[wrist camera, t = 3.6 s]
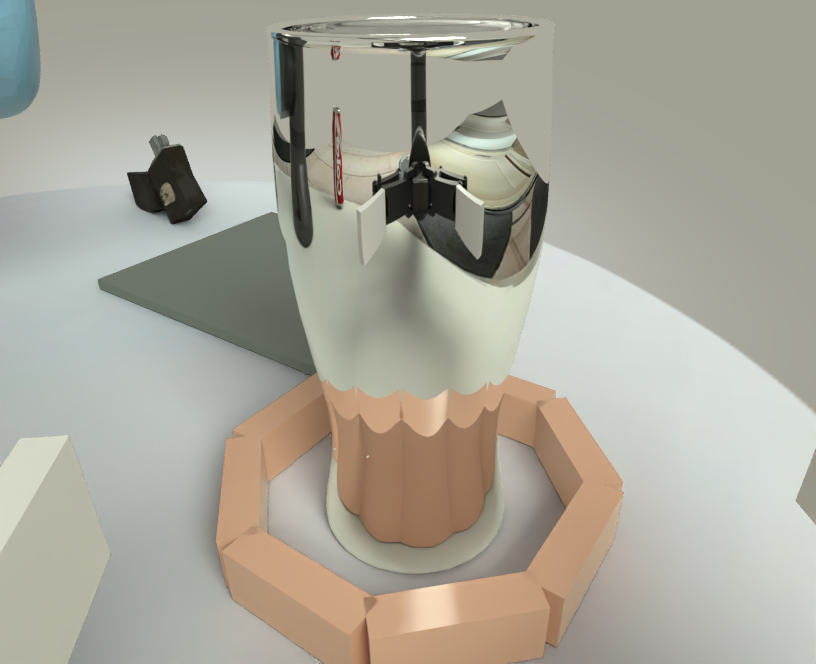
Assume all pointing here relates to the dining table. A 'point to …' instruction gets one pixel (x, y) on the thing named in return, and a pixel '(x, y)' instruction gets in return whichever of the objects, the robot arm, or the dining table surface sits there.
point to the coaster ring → (432, 606)
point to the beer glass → (412, 258)
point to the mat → (226, 290)
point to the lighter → (168, 183)
